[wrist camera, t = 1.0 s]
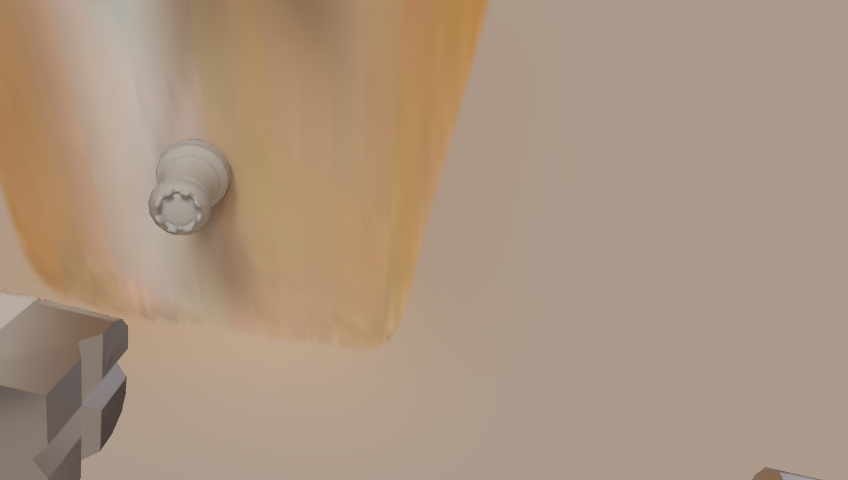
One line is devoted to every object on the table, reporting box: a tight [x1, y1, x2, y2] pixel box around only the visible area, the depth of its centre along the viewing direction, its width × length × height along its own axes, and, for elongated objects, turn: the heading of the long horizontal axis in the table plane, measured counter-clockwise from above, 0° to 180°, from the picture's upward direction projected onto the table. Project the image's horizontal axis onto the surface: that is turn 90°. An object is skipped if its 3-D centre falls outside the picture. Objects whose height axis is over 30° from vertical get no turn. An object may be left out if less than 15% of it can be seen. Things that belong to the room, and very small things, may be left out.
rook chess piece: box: [148, 139, 231, 235], centre depth 40 cm, size 4×4×8 cm
